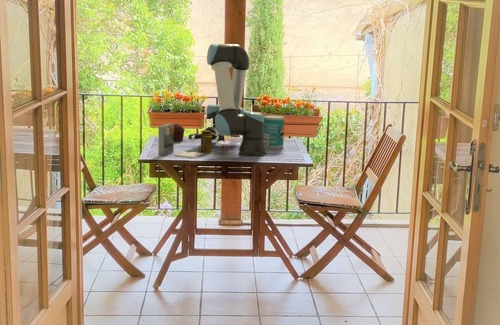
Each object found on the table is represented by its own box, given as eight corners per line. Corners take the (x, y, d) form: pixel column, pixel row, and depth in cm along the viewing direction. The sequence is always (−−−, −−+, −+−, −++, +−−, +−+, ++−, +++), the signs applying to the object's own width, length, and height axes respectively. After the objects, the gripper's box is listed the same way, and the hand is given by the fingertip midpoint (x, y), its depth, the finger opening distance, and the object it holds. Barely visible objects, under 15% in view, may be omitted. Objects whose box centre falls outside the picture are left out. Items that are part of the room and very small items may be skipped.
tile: (202, 154, 395) (202, 153, 395) (194, 157, 385) (194, 156, 385) (184, 152, 399) (184, 151, 399) (175, 155, 389) (175, 154, 389)
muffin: (162, 139, 435) (162, 123, 433) (178, 138, 442) (178, 122, 440) (172, 142, 426) (172, 126, 424) (188, 141, 432) (188, 124, 430)
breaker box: (175, 152, 398) (175, 123, 395) (165, 156, 387) (165, 126, 384) (168, 151, 399) (168, 123, 396) (158, 155, 388) (158, 126, 385)
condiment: (214, 152, 403) (215, 130, 400) (205, 154, 396) (205, 132, 394) (204, 150, 407) (204, 129, 405) (194, 152, 400) (195, 131, 398)
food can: (286, 148, 419) (287, 117, 415) (267, 149, 415) (268, 118, 411) (278, 144, 430) (279, 114, 426) (259, 145, 426) (260, 115, 422)
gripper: (231, 141, 419) (226, 147, 399) (188, 139, 422) (182, 145, 401) (231, 128, 418) (226, 134, 397) (188, 126, 420) (182, 132, 399)
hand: (204, 140), depth 399 cm, fingers open, 13 cm apart
